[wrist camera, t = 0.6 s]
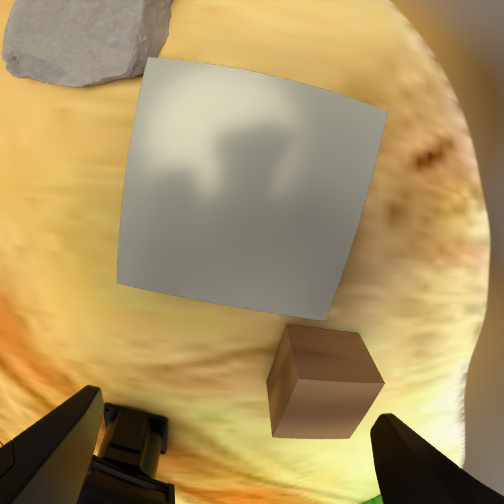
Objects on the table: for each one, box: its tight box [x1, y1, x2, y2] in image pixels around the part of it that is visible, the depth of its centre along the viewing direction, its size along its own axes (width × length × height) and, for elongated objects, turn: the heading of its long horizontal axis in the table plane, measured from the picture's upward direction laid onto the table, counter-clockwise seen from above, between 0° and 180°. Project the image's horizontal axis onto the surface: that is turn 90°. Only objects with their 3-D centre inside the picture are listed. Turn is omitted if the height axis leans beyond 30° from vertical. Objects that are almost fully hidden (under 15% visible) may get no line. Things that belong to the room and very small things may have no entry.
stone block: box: [2, 0, 172, 88], centre depth 13 cm, size 12×5×10 cm
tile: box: [117, 57, 388, 321], centre depth 18 cm, size 13×13×3 cm
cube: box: [267, 324, 385, 439], centre depth 22 cm, size 6×6×6 cm
